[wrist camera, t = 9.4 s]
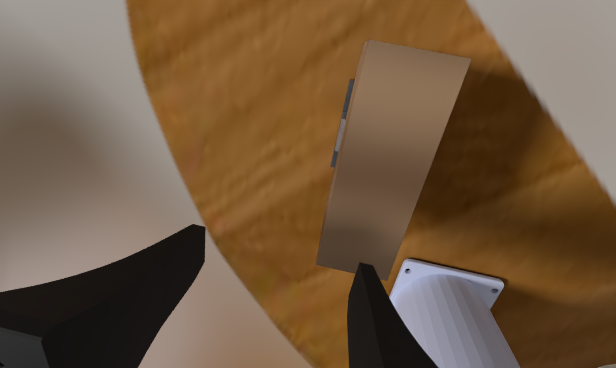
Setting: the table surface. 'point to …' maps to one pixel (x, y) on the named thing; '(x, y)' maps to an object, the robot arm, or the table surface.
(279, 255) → the table surface
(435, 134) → the rectangular block
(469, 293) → the robot arm
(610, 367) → the cylinder with rectangular tab
